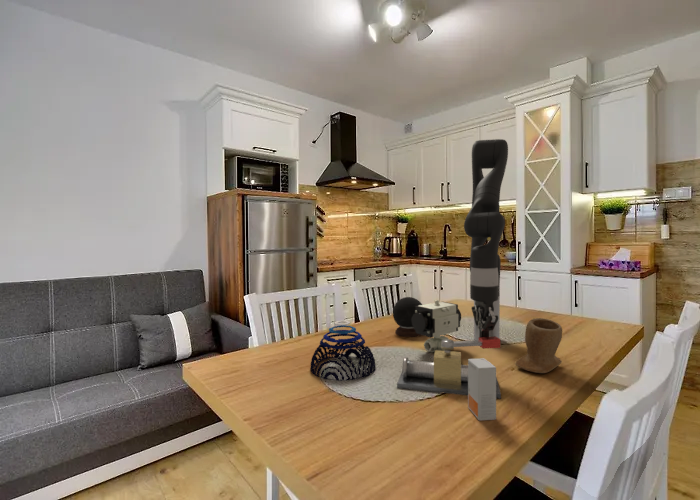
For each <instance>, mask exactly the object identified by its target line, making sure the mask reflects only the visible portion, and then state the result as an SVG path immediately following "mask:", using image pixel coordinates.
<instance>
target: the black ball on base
mask: <svg viewBox="0 0 700 500" xmlns="http://www.w3.org/2000/svg"><path fill="white" fill-rule="evenodd" d="M420 305H423V303H421V301H419V299H417V298H415V297H411V296H406V297H402V298H400V299H399V300H398V301H396V303H395V304H394V305H393V309H392V318H393V320H394V322H395V324H396V325H398V327H397V328H396V329H395V333H394V334H395V335H396V336H399V337H404V338H413V337H414V338H417V337H421V336H422V335H421V334H417V333H416V330H415V329H414V328H413V326H412V316H413V314H415V310H416V308H415V306H420Z"/></svg>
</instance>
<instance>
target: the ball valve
mask: <svg viewBox="0 0 700 500" xmlns="http://www.w3.org/2000/svg"><path fill="white" fill-rule="evenodd" d="M415 308H416V310H415V314H413V316H412V326H413V328H414V329H415V330H416V333H417V334H421V336H424V337H427V339H426V340H425V341H424V344H423V348H424V350H425V351H427V352H429V353H435V350H440V351H445V350H444V349H442V340H443V339H449V337H447V335H448V334H450V333H456V332H458V331H459V328H460V327H461V320H462V312H461V310H460V309H459V304H457V303H451V302H447V301H446V302H445V301H440V300H439V299H438V300H437V299H436V300H434V302H431V303H427V304H422V305H420V306H415Z"/></svg>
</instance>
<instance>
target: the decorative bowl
mask: <svg viewBox="0 0 700 500" xmlns="http://www.w3.org/2000/svg"><path fill="white" fill-rule="evenodd" d="M333 324H334V326H331V327H330V328H328V331H329V332H326V333H325V334H324V335H322V336H323V337H322V338H321V340H320V342H319V345H318V346H317V347H316V349H315V351H314V352H313V354H312V356H311V361H310V372H311V374H312V375H314V376H316V377H318V378H321V379H323V380H330V381H336V382H339V381H340V382H342V381H344V382H345V381H354V380H360V379H364V378H366V377H369V376H370V375H372V374H374V372H375V371H376V368H377V367H376V359H375V357H374V354H373V352H372V350H371V348H370V347H369V346H368V345H366V346H365V345H364V344H366V340H365V338H364V337H363V335H362V334H361V333H360V332H359V331H357V328H356V327H354V326H351V325H350V324H351V321H349V320H337V321H334V323H333ZM338 328H349V329H338ZM334 329H335V330H334ZM335 337H349V338H338V339H336V338H335ZM359 340H361V341H359ZM329 342H330V343H335V344H329ZM322 349H323V350H322ZM352 354H354V355H355V356H351V355H352ZM317 356H318V357H317ZM344 358H345V359H344ZM351 358H352V359H353V358H354V359H358V365H357V367H356V365H355V364H356V363H355V364H354V362H353V360H352V359H351ZM335 359H337V360H335ZM338 360H339V361H338ZM330 363H332V364H334V365H337V366H338V367H340V369H341V370H342V372H344V374H343V373H342V372H341V370H340V369H339V368H337V366H329V365H328V364H330ZM325 365H328V366H326V367H325V368H323V367H324V366H325ZM343 365H345V367H346V368H347V369H348V371H349V373H350V374H349V373H348V371H347V370H346V369H345V367H344V366H343ZM329 369H330V370H335V371H336V372H337V373H336V372H334V371H328V370H329ZM353 369H354V370H353ZM326 371H327V372H326ZM338 373H339V375H340V376H341V379H340V378H339V375H338ZM344 375H345V376H344ZM354 375H355V376H354ZM330 376H333V379H332V378H329V377H330ZM345 377H346V379H345Z"/></svg>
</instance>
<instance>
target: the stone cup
mask: <svg viewBox="0 0 700 500" xmlns="http://www.w3.org/2000/svg"><path fill="white" fill-rule="evenodd" d="M524 336H525V337H524V340H525V346H526V350H527V353H526V354H525V355H523V356H521V357H520V358H518V359H517V360H515V362H514V364H515V366H517V367H518V368H520V369H522V370H525V371H528V372H531V373H535V374H546V373H549V372H552V371H553V370H554V369H555V368H557V367H558V366H559V365H560V364H562V362H563V361H562V359H560V358H559V357H558V356H556V353H557V350H558V348H559V346H560V343H561V341H562V338H563V327H562V325H561V324H560V323H558V322H557V321H554V320H552V319H548V318H543V317H536V318H532V319H530V320H528V322H527V324H526V326H525V333H524Z"/></svg>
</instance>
